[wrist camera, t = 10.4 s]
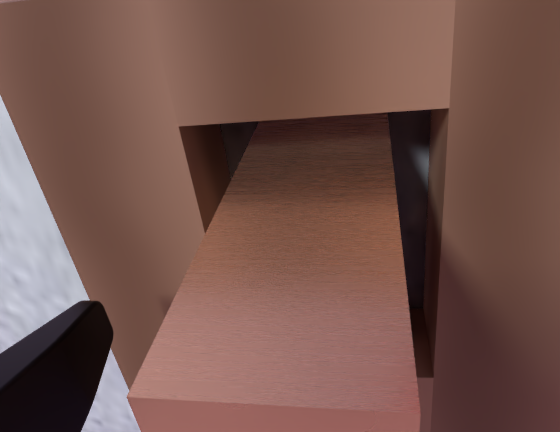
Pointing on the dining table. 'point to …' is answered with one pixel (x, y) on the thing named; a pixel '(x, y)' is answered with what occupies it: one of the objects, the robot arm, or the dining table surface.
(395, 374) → the reddish brown block
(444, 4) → the board with rectangular hole
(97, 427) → the dining table surface
